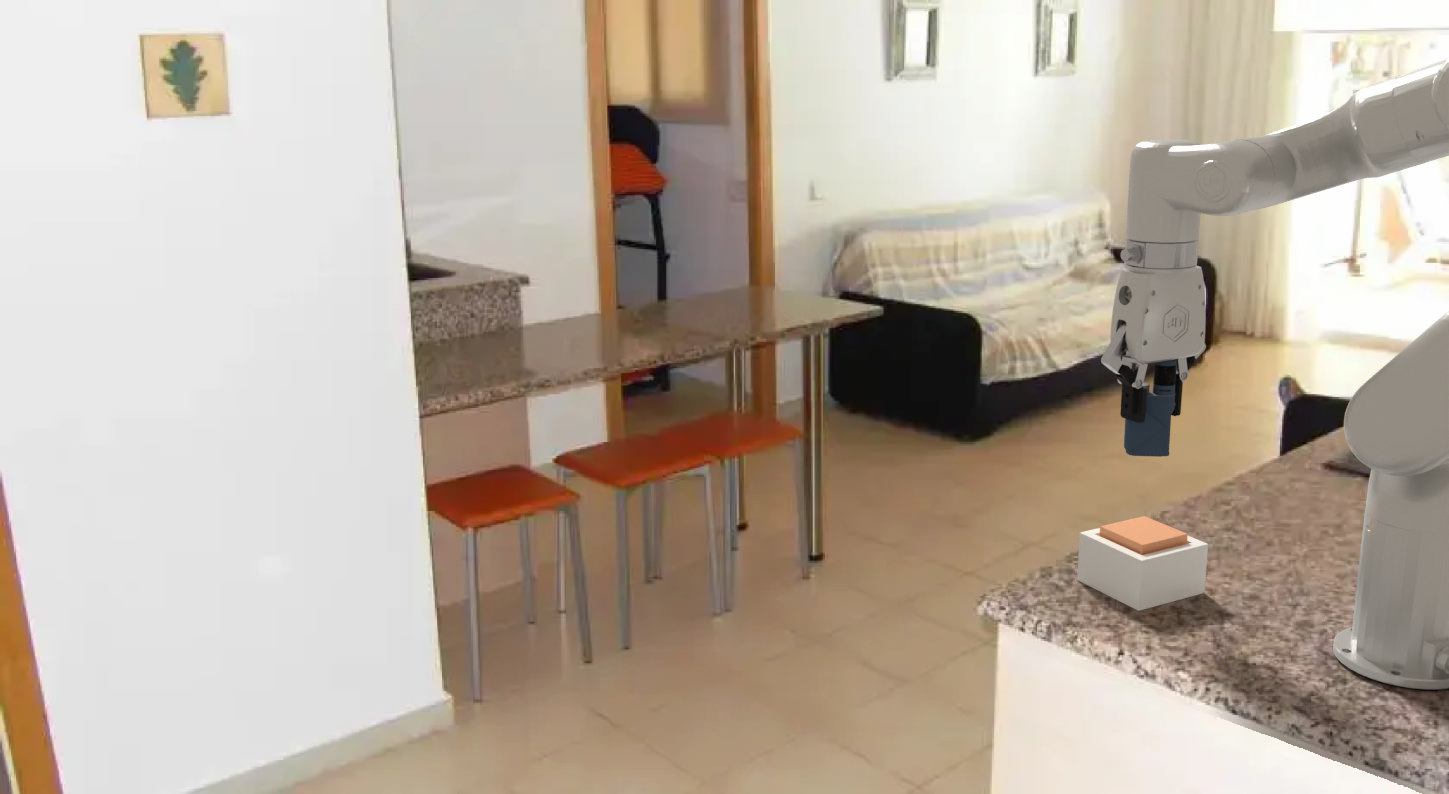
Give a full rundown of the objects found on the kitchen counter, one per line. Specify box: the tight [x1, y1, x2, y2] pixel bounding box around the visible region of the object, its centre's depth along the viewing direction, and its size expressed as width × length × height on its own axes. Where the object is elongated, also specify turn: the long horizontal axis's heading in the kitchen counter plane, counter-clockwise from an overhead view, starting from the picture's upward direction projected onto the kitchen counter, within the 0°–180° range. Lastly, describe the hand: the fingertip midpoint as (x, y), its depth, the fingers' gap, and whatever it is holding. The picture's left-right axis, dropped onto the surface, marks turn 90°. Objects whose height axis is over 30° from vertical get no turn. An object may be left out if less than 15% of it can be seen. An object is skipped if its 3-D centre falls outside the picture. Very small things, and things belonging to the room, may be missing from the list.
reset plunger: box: [1099, 515, 1189, 555], centre depth 146 cm, size 7×7×3 cm
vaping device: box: [1123, 359, 1177, 457], centre depth 142 cm, size 3×5×12 cm, turn 78°
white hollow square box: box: [1076, 527, 1209, 612], centre depth 146 cm, size 10×10×6 cm
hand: (1150, 414), depth 142 cm, fingers closed on vaping device, 4 cm apart
